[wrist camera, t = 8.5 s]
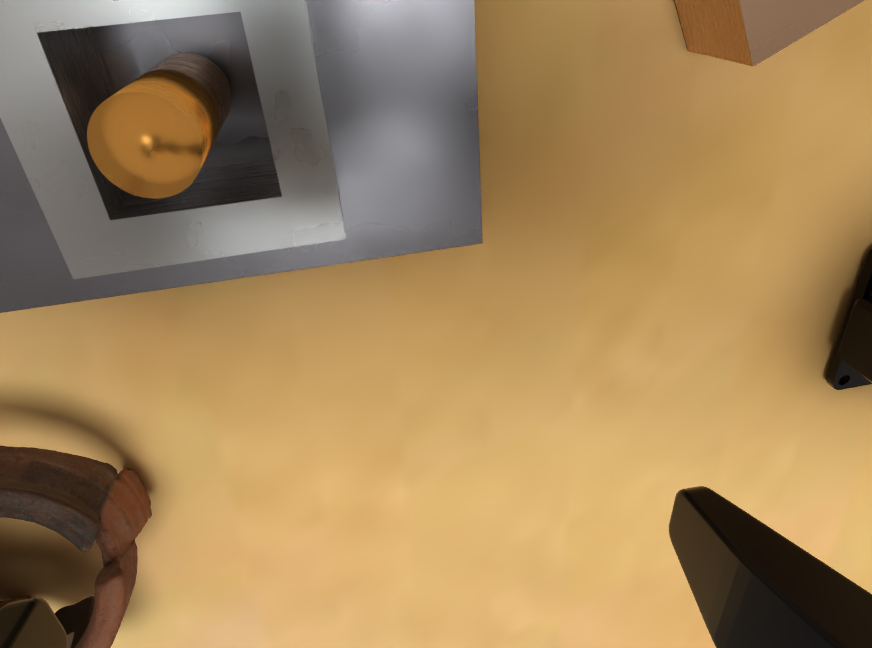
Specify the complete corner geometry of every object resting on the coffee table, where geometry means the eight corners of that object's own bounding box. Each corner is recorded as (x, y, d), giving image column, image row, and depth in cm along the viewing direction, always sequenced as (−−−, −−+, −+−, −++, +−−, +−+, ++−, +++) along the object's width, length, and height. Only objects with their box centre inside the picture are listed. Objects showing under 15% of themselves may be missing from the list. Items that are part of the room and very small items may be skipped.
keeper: (455, -183, 14) (548, -272, 8) (473, 228, 19) (536, 330, 14) (-230, -142, 12) (-643, -221, 7) (-1, 294, 17) (-135, 439, 12)
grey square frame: (294, -65, 13) (292, -72, 11) (339, 196, 16) (346, 239, 14) (5, -40, 13) (-71, -39, 10) (110, 228, 16) (73, 279, 13)
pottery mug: (-218, 500, 20) (-393, 629, 13) (68, 354, 24) (55, 390, 17) (6, 736, 24) (-35, 938, 17) (224, 577, 27) (268, 686, 20)
